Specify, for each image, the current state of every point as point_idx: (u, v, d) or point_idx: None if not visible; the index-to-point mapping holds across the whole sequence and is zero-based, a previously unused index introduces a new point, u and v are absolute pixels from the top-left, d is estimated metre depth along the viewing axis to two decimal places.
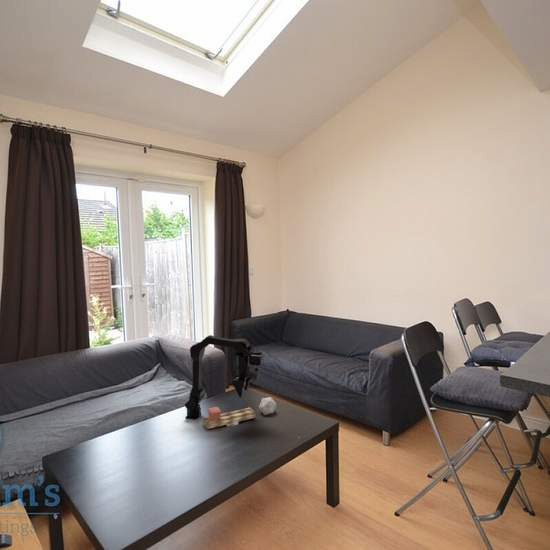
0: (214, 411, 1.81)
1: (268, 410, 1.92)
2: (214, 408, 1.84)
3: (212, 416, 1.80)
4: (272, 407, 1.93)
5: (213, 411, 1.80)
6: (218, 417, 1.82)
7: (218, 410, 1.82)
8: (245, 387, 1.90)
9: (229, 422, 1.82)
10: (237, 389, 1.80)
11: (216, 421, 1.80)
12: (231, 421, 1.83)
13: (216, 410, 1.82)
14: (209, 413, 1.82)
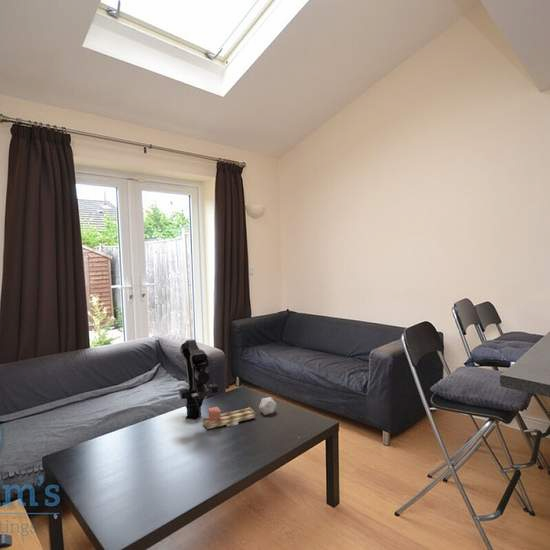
0: (214, 411, 1.81)
1: (268, 410, 1.92)
2: (214, 408, 1.84)
3: (212, 416, 1.80)
4: (272, 407, 1.93)
5: (213, 411, 1.80)
6: (218, 417, 1.82)
7: (218, 410, 1.82)
8: None
9: (229, 422, 1.82)
10: (195, 399, 1.79)
11: (216, 421, 1.80)
12: (231, 421, 1.83)
13: (216, 410, 1.82)
14: (209, 413, 1.82)
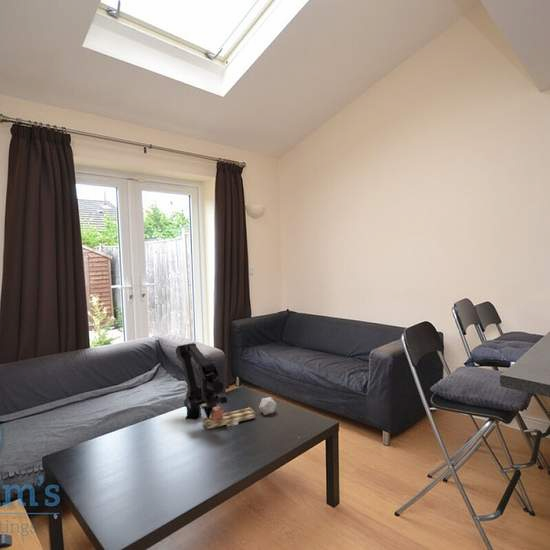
0: (217, 410, 1.81)
1: (268, 410, 1.92)
2: (216, 408, 1.85)
3: (214, 415, 1.81)
4: (272, 407, 1.93)
5: (216, 411, 1.81)
6: (220, 416, 1.83)
7: (220, 409, 1.82)
8: None
9: (229, 422, 1.82)
10: (204, 409, 1.81)
11: (216, 421, 1.80)
12: (231, 421, 1.83)
13: (218, 409, 1.82)
14: (212, 412, 1.82)
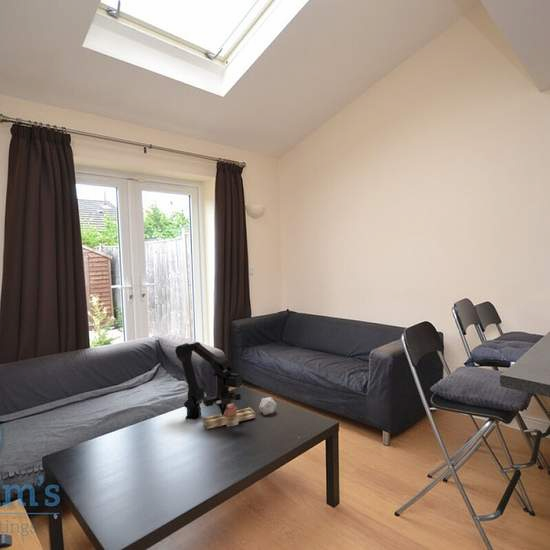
0: (231, 407, 1.85)
1: (268, 410, 1.92)
2: (230, 405, 1.88)
3: (229, 412, 1.85)
4: (272, 407, 1.93)
5: (230, 408, 1.84)
6: (234, 413, 1.86)
7: (234, 406, 1.86)
8: None
9: (229, 422, 1.82)
10: (218, 406, 1.85)
11: (216, 421, 1.80)
12: (231, 421, 1.83)
13: (233, 406, 1.86)
14: (226, 409, 1.86)
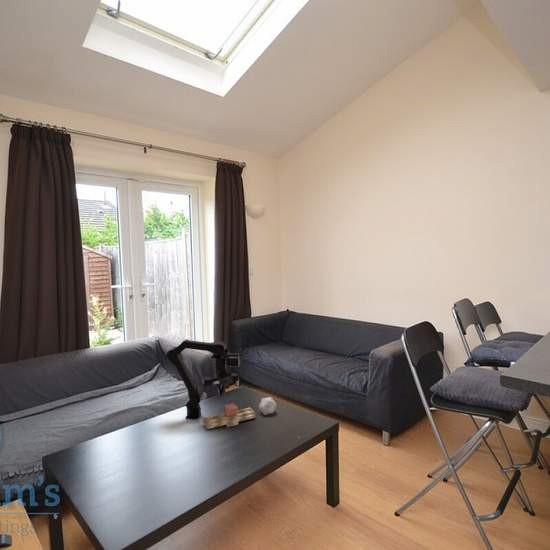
0: (231, 407, 1.85)
1: (268, 410, 1.92)
2: (230, 405, 1.88)
3: (229, 412, 1.85)
4: (272, 407, 1.93)
5: (230, 408, 1.84)
6: (235, 413, 1.86)
7: (235, 406, 1.86)
8: None
9: (229, 422, 1.82)
10: (217, 386, 1.92)
11: (216, 421, 1.80)
12: (231, 421, 1.83)
13: (233, 406, 1.86)
14: (226, 409, 1.86)
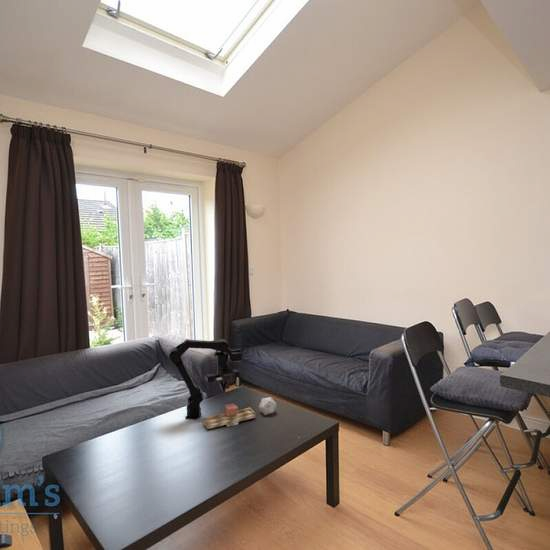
0: (231, 407, 1.85)
1: (268, 410, 1.92)
2: (230, 405, 1.88)
3: (229, 412, 1.85)
4: (272, 407, 1.93)
5: (230, 408, 1.84)
6: (235, 413, 1.86)
7: (235, 406, 1.86)
8: None
9: (229, 422, 1.82)
10: (219, 382, 1.97)
11: (216, 421, 1.80)
12: (231, 421, 1.83)
13: (233, 406, 1.86)
14: (226, 409, 1.86)
